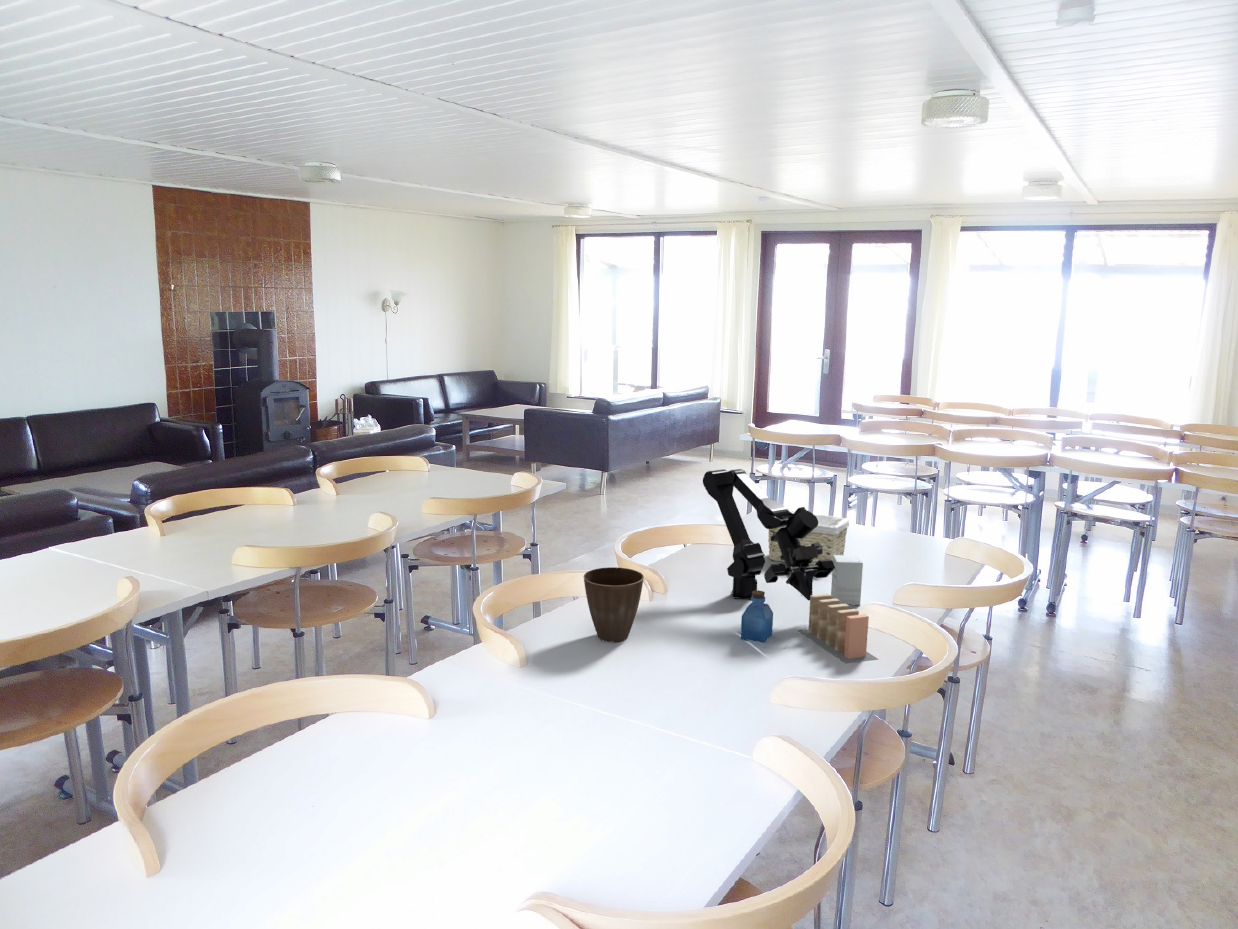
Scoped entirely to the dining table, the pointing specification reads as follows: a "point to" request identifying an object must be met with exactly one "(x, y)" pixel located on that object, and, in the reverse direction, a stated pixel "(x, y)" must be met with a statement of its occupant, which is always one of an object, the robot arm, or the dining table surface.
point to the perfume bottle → (757, 619)
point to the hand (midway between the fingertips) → (810, 599)
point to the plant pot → (613, 600)
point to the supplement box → (847, 579)
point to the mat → (832, 650)
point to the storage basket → (818, 538)
